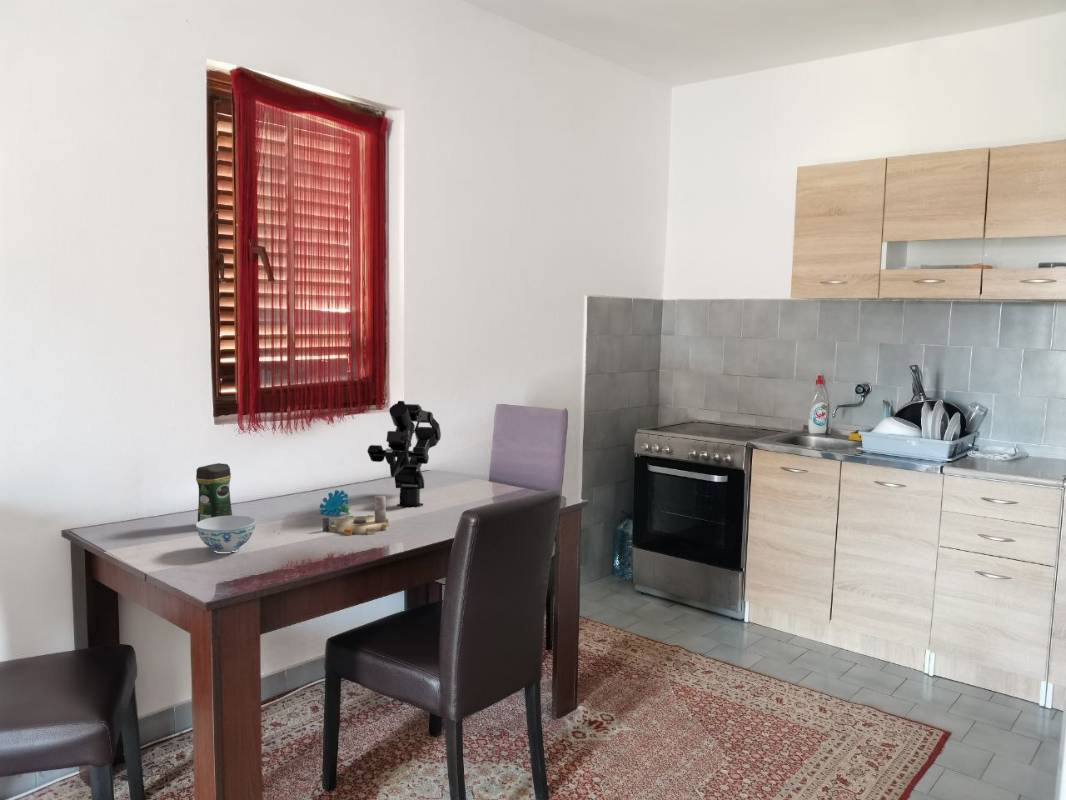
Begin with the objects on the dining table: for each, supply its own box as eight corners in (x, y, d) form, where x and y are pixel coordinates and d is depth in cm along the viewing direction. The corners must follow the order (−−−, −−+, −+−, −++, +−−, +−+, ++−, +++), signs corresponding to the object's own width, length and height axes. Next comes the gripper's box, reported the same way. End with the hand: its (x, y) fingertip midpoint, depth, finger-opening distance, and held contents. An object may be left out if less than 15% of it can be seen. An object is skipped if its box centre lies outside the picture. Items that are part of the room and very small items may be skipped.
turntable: (329, 535, 231) (328, 504, 230) (331, 521, 248) (331, 492, 247) (389, 533, 235) (389, 503, 234) (387, 519, 251) (387, 490, 250)
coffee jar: (217, 520, 249) (216, 460, 247) (237, 523, 246) (235, 463, 244) (192, 527, 240) (190, 465, 239) (212, 530, 237) (210, 468, 235)
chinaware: (237, 539, 228) (236, 512, 228) (267, 550, 219) (266, 521, 218) (185, 551, 217) (184, 522, 216) (215, 562, 207) (214, 532, 207)
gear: (312, 509, 258) (331, 485, 262) (321, 519, 262) (340, 495, 266) (335, 520, 251) (355, 494, 256) (344, 530, 255) (363, 504, 260)
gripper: (369, 419, 257) (356, 460, 248) (426, 421, 255) (416, 462, 245) (377, 440, 266) (366, 480, 256) (433, 443, 263) (423, 483, 254)
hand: (392, 476), depth 253 cm, fingers closed
